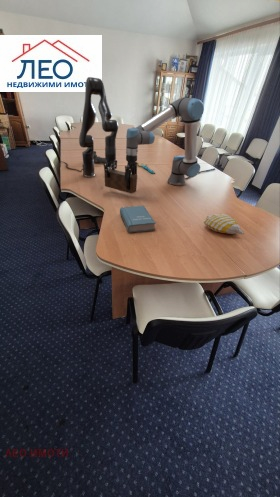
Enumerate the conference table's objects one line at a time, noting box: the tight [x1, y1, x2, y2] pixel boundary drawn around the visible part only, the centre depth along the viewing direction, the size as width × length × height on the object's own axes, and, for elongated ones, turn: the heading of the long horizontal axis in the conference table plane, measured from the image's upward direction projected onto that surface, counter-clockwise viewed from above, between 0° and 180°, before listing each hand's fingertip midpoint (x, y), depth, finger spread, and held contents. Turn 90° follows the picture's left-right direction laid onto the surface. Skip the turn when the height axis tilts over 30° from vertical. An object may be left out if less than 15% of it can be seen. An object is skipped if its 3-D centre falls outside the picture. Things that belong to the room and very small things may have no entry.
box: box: [103, 168, 138, 195], centre depth 162 cm, size 24×6×12 cm, turn 62°
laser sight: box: [93, 150, 107, 165], centre depth 230 cm, size 10×22×10 cm, turn 78°
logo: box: [137, 162, 156, 175], centre depth 227 cm, size 34×10×1 cm, turn 16°
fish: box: [203, 213, 245, 235], centre depth 133 cm, size 25×8×20 cm
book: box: [119, 205, 156, 233], centre depth 136 cm, size 23×16×5 cm
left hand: (110, 176), depth 164 cm, fingers closed on box, 6 cm apart
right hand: (130, 187), depth 161 cm, fingers closed on box, 6 cm apart
